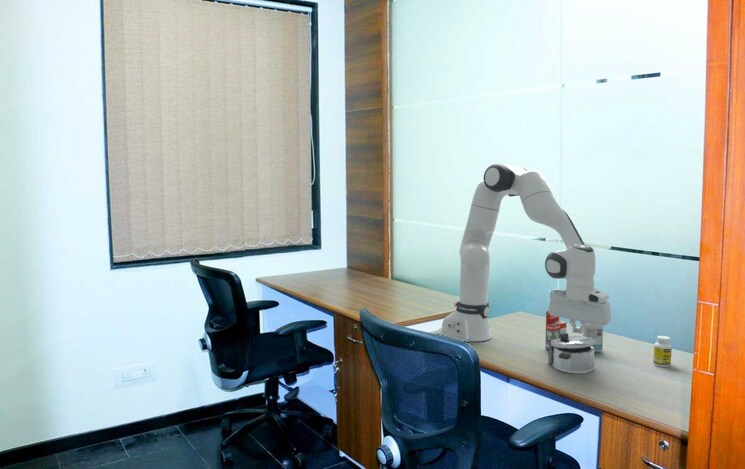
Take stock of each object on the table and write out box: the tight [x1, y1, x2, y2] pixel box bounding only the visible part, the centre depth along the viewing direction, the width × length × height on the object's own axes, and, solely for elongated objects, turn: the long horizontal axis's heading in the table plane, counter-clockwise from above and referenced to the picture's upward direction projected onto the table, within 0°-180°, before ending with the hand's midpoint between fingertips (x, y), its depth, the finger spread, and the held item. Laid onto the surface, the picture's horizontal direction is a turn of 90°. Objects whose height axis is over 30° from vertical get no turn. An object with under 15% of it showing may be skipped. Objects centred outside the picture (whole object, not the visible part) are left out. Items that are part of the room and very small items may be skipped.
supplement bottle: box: [652, 335, 673, 368], centre depth 205 cm, size 5×5×10 cm
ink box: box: [545, 310, 568, 351], centre depth 224 cm, size 4×8×15 cm, turn 123°
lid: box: [549, 332, 596, 349], centre depth 204 cm, size 15×15×4 cm
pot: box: [547, 345, 595, 375], centre depth 205 cm, size 15×17×7 cm
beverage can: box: [582, 322, 604, 354], centre depth 220 cm, size 7×7×12 cm
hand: (577, 332), depth 202 cm, fingers closed
